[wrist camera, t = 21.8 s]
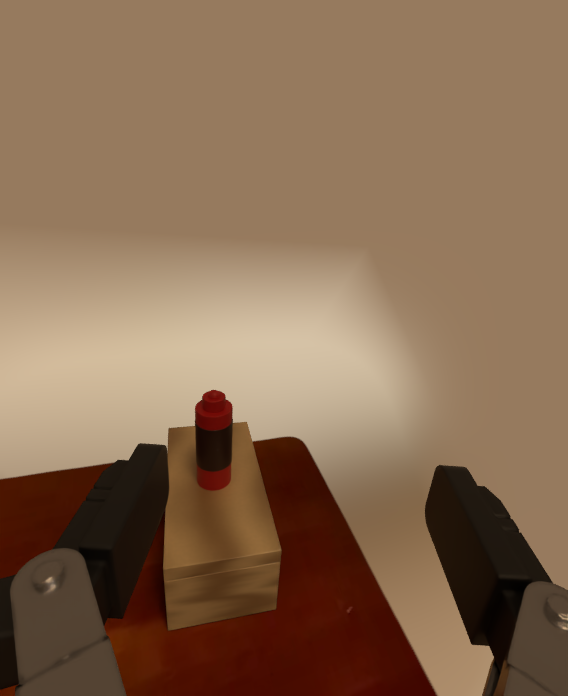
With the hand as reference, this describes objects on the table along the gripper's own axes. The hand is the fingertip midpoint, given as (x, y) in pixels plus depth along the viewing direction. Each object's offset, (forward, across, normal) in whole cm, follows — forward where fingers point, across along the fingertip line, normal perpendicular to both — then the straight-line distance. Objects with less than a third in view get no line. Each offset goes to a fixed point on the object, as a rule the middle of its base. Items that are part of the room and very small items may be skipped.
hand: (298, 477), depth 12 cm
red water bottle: (+24, +7, +22) cm, 33 cm away
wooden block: (+24, +7, +30) cm, 39 cm away
